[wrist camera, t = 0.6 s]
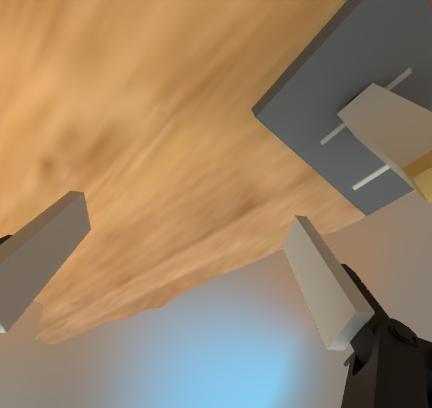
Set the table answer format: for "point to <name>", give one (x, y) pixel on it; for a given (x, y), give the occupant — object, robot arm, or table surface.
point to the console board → (352, 92)
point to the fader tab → (394, 134)
